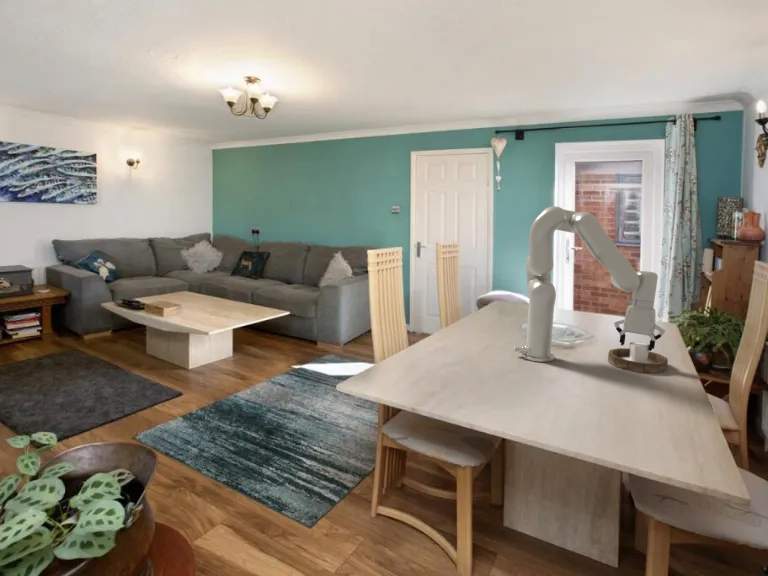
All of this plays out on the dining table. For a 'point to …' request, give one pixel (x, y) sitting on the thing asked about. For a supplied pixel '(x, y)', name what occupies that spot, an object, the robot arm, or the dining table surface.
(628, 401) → the dining table surface
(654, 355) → the round wooden tray
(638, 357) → the white cup
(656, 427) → the dining table surface
